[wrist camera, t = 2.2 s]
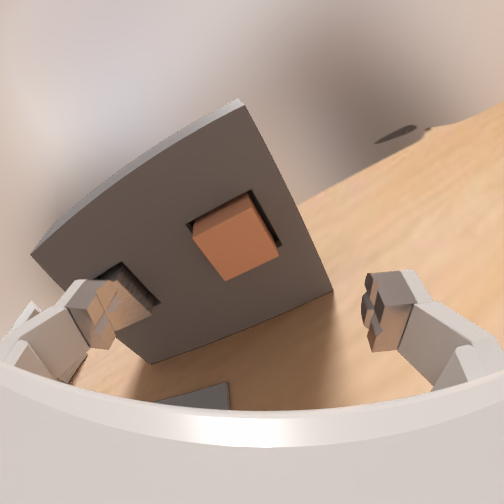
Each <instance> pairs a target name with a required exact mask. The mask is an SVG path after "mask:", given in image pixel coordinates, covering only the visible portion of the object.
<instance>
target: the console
mask: <svg viewBox="0 0 504 504" xmlns="http://www.w3.org/2000/svg"><path fill="white" fill-rule="evenodd" d="M245 192H248V194H249V195H250V197H251V199H252V201H253V202H254V204H255V206H256V208H257V210H258V211H259V213H260V215H261V217H262V218H263V220H264V222H265V224H266V225H267V227H268V229H269V231H270V233H271V234H272V236H273V239H274V242H275V245H276V248H277V251H278V254H279V256H278V257H276V258H274V259H272V260H270V261H267V262H265V263H263V264H261V265H259V266H257V267H255V268H253V269H251V270H248V271H246V272H244V273H242V274H240V275H238V276H236V277H234V278H231V279H229V280H227V281H224V279H223V278H222V277H221V275H220V274H219V273H218V271H217V270H216V269H215V268H214V266H213V265H212V264H211V262H210V261H209V260H208V258H207V257H206V256H205V255H204V253H203V252H202V251H201V249H200V248H199V247H198V245H197V244H196V243H195V241H194V240H193V239H192V235H193V225H194V219H196V218H197V217H199V216H201V215H203V214H205V213H207V212H209V211H210V210H212V209H214V208H216V207H218V206H220V205H222V204H224V203H225V202H227V201H229V200H231V199H233V198H235V197H237V196H239V195H241V194H243V193H245ZM30 255H31V256H32V257H33V258H34V259H35V261H36V262H37V263H38V264H39V265H40V266H41V267H42V268H43V269H44V270H45V271H46V272H47V274H49V276H50V277H51V278H52V279H53V280H54V281H55V282H56V283H57V284H58V285H59V286H60V287H61V288H62V289H63V290H64V291H65V292H66V291H67V289H68V288H69V287H70V286H71V284H72V283H73V282H74V281H75V280H78V279H87V280H89V279H90V280H92V279H94V278H95V277H97V276H98V275H100V274H102V273H103V272H105V271H106V270H108V269H110V268H111V267H113V266H115V265H116V264H118V263H119V262H121V261H122V262H123V263H124V264H125V265H126V266H127V267H128V268H129V269H130V271H131V272H132V273H133V274H134V275H135V276H136V277H137V278H138V279H139V280H140V281H141V282H142V283H143V284H144V286H145V287H146V288H147V289H148V290H149V291H150V292H151V293H152V294H153V295H154V296H155V302H154V308H153V314H152V315H151V316H149V317H147V318H144V319H142V320H140V321H138V322H136V323H133V324H131V325H129V326H127V327H124V328H122V329H120V330H118V331H117V330H116V331H115V333H116V338H117V339H119V340H120V341H121V342H122V343H123V344H125V345H126V346H127V347H129V348H130V349H131V350H132V351H134V352H135V353H136V354H138V355H139V356H140V357H141V358H143V359H144V360H145V361H147V362H148V363H150V364H153V363H156V362H159V361H162V360H165V359H168V358H171V357H173V356H176V355H179V354H182V353H185V352H187V351H190V350H193V349H196V348H198V347H201V346H204V345H206V344H209V343H212V342H214V341H217V340H219V339H222V338H224V337H227V336H230V335H232V334H235V333H237V332H240V331H242V330H244V329H247V328H249V327H252V326H254V325H257V324H259V323H261V322H264V321H266V320H269V319H271V318H273V317H276V316H278V315H280V314H282V313H285V312H287V311H289V310H292V309H294V308H296V307H298V306H301V305H303V304H305V303H307V302H309V301H312V300H314V299H316V298H318V297H320V296H322V295H324V294H327V293H329V292H331V291H333V288H332V285H331V283H330V281H329V278H328V276H327V273H326V271H325V269H324V266H323V264H322V262H321V260H320V257H319V255H318V253H317V250H316V248H315V246H314V244H313V241H312V239H311V237H310V235H309V233H308V230H307V228H306V226H305V224H304V222H303V219H302V217H301V215H300V213H299V211H298V209H297V207H296V204H295V202H294V200H293V198H292V196H291V194H290V192H289V190H288V188H287V186H286V184H285V182H284V180H283V178H282V176H281V174H280V172H279V170H278V168H277V166H276V164H275V162H274V160H273V158H272V156H271V154H270V152H269V150H268V148H267V146H266V144H265V142H264V140H263V138H262V136H261V134H260V133H259V131H258V129H257V127H256V125H255V123H254V121H253V119H252V117H251V116H250V114H249V112H248V110H247V108H246V106H245V105H244V104H243V103H242V102H241V101H240V100H239V99H236V100H234V101H232V102H230V103H228V104H226V105H224V106H222V107H220V108H218V109H217V110H215V111H213V112H211V113H209V114H208V115H206V116H204V117H202V118H200V119H198V120H197V121H195V122H193V123H191V124H190V125H188V126H186V127H185V128H183V129H181V130H180V131H178V132H176V133H175V134H173V135H171V136H170V137H168V138H167V139H165V140H163V141H162V142H160V143H159V144H157V145H156V146H154V147H152V148H151V149H150V150H148V151H146V152H145V153H143V154H142V155H141V156H139V157H138V158H136V159H135V160H133V161H132V162H130V163H129V164H128V165H126V166H125V167H123V168H122V169H121V170H119V171H118V172H117V173H115V174H114V175H112V176H111V177H110V178H108V179H107V180H106V181H105V182H103V183H102V184H101V185H99V186H98V187H97V188H95V189H94V190H93V191H92V192H90V193H89V194H88V195H87V196H86V197H84V198H83V199H82V200H81V201H79V202H78V203H77V204H76V205H75V206H73V207H72V208H71V209H70V210H69V211H68V212H66V213H65V214H64V215H63V216H62V217H61V218H60V219H58V220H57V221H56V222H55V223H54V224H53V225H52V227H51V228H50V229H49V230H48V231H47V233H46V234H45V235H44V237H43V238H42V240H41V241H40V242H39V243H38V245H37V246H36V247H35V249H34V250H33V252H32V253H31V254H30Z"/></svg>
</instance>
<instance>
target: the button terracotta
mask: <svg viewBox="0 0 504 504" xmlns="http://www.w3.org/2000/svg"><path fill="white" fill-rule="evenodd" d="M192 239H193V240H194V241H195V243H196V244H197V245H198V247H199V248H200V249H201V251H202V252H203V253H204V255H205V256H206V257H207V258H208V260H209V261H210V262H211V264H212V265H213V266H214V268H215V269H216V270H217V271H218V273H219V274H220V275H221V277H222V278H223V279H224V281H227V280H229V279H231V278H234V277H236V276H238V275H240V274H242V273H244V272H246V271H248V270H251V269H253V268H255V267H257V266H259V265H261V264H263V263H265V262H267V261H270V260H272V259H274V258H276V257H278V256H279V254H278V251H277V248H276V245H275V242H274V239H273V236H272V234H271V233H270V231H269V229H268V227H267V225H266V224H265V222H264V220H263V218H262V217H261V215H260V213H259V211H258V210H257V208H256V206H255V204H254V202H253V201H252V199H251V197H250V195H249V194H248V192H245V193H243V194H241V195H239V196H237V197H235V198H233V199H231V200H229V201H227V202H225V203H224V204H222V205H220V206H218V207H216V208H214V209H212V210H210V211H209V212H207V213H205V214H203V215H201V216H199V217H197V218H196V219H194V225H193V235H192Z"/></svg>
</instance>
